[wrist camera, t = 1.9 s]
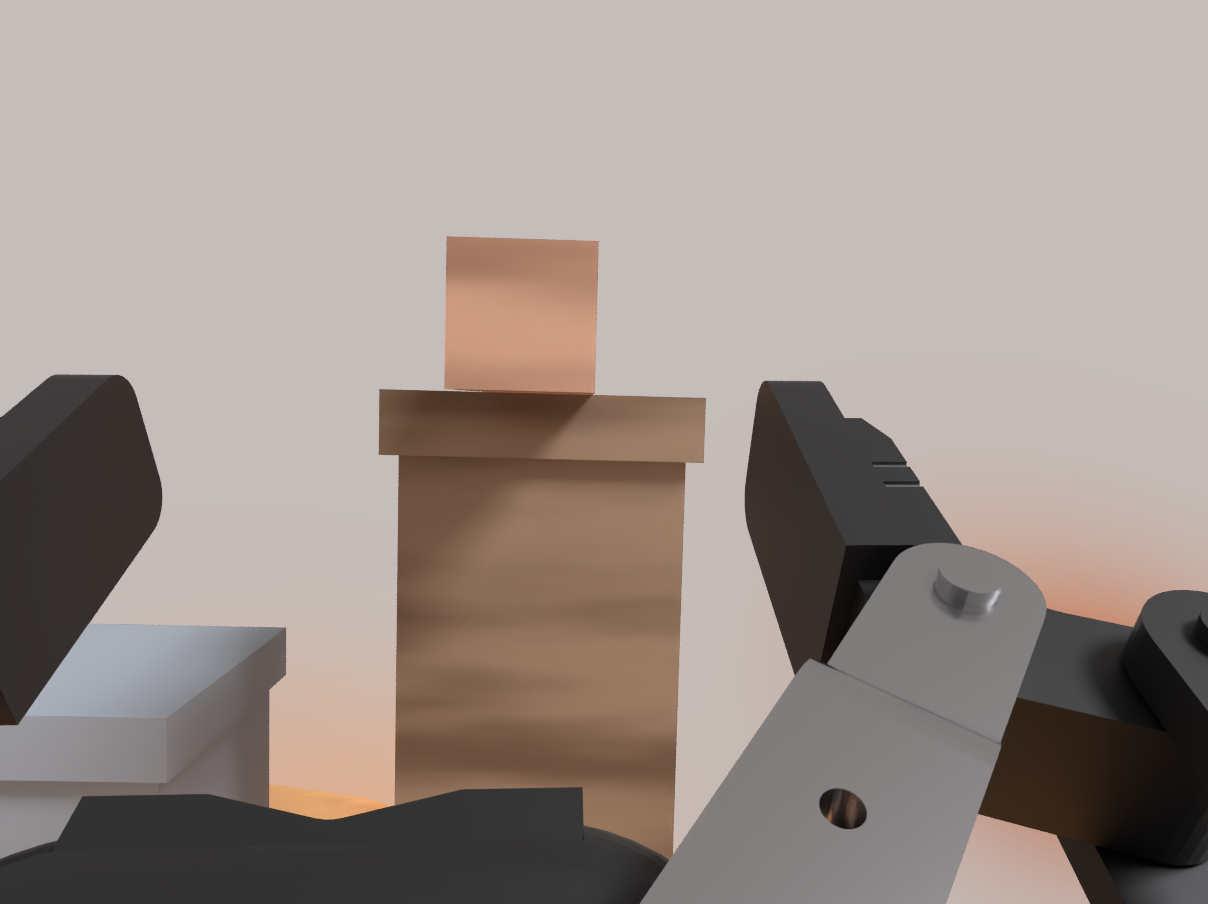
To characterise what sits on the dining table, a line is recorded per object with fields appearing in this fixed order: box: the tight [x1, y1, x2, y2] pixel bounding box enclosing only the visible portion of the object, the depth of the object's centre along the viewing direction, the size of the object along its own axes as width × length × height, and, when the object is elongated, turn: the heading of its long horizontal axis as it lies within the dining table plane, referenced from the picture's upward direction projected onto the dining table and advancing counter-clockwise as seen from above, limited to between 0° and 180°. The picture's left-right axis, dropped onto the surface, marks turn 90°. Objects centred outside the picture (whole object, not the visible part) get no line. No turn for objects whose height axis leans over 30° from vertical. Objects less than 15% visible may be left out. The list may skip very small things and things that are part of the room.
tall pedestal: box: [379, 389, 706, 860], centre depth 32 cm, size 10×10×32 cm
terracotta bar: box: [444, 237, 599, 395], centre depth 28 cm, size 22×3×3 cm, turn 1°
